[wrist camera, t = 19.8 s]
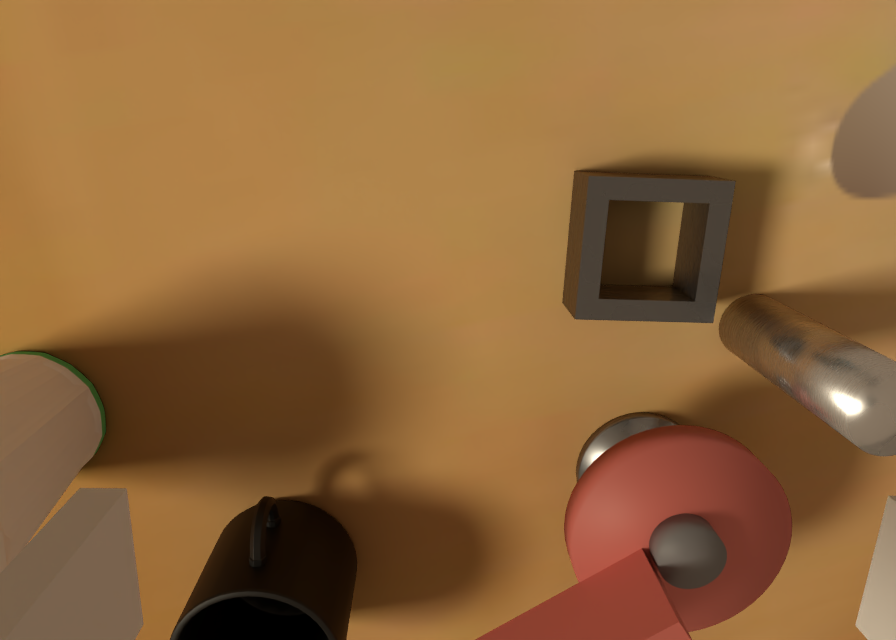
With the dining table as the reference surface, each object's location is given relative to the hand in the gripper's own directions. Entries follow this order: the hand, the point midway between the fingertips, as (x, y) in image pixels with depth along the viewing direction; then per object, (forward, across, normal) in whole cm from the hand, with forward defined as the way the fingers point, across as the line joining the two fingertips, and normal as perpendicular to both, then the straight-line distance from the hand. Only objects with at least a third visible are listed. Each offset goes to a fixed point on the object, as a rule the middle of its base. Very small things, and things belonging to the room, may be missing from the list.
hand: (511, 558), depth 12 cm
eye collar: (+29, +11, +1) cm, 31 cm away
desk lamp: (+23, +10, -16) cm, 29 cm away
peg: (+29, +19, -4) cm, 34 cm away
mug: (+29, -10, -20) cm, 37 cm away
